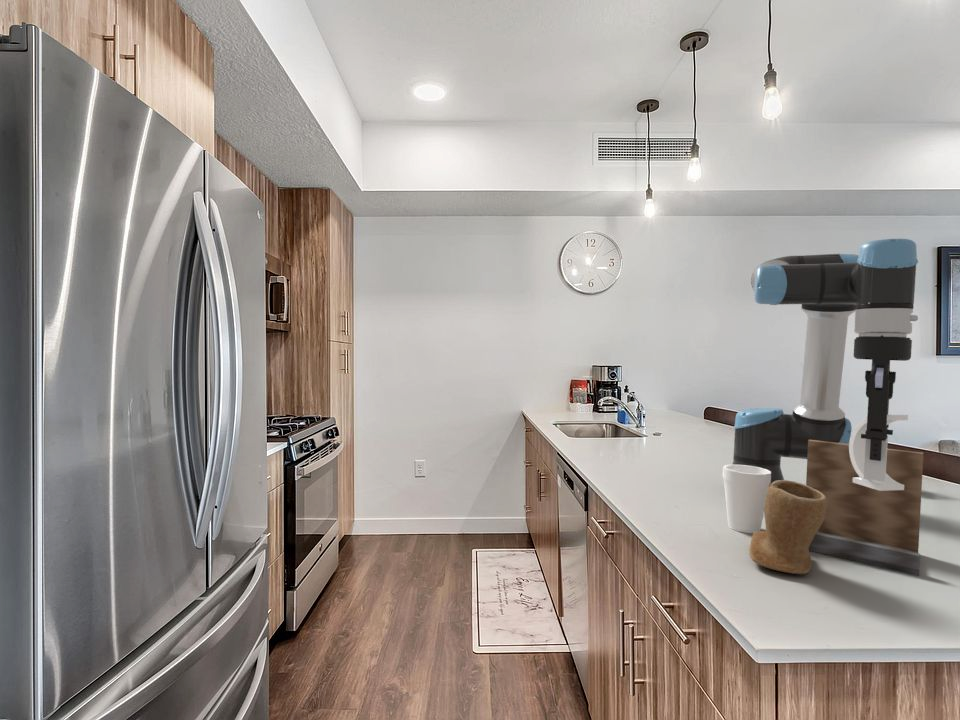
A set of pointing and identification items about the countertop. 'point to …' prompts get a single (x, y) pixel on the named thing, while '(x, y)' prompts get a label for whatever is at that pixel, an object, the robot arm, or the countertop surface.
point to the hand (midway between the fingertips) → (875, 475)
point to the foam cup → (745, 496)
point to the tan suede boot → (788, 527)
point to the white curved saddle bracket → (859, 457)
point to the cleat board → (867, 508)
